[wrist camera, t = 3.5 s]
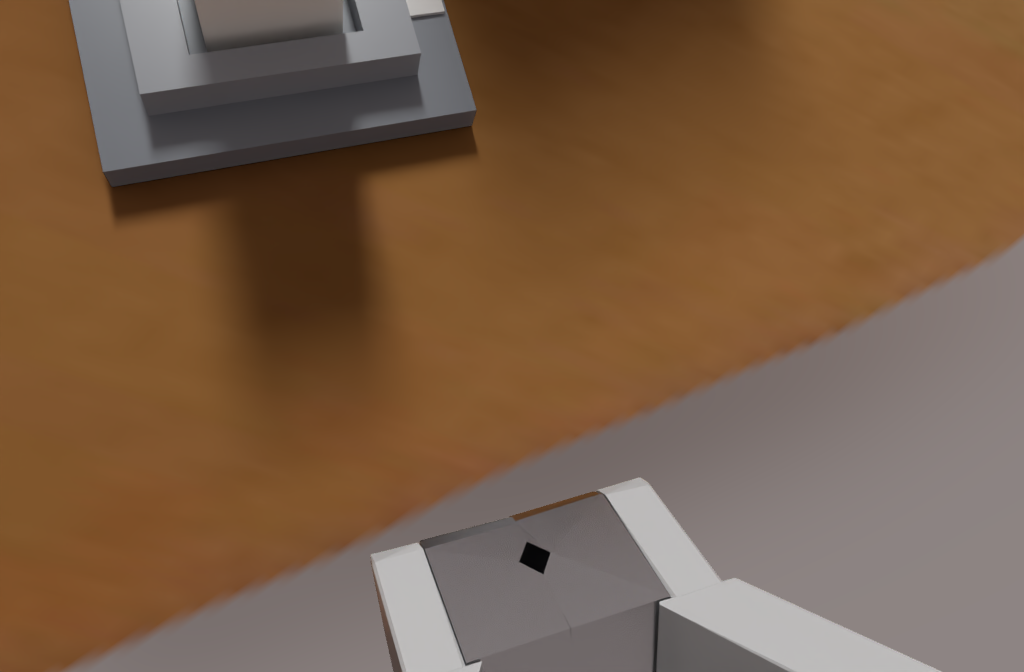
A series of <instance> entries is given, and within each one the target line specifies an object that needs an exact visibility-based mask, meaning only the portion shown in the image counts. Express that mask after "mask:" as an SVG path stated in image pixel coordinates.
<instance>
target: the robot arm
mask: <svg viewBox="0 0 1024 672" xmlns="http://www.w3.org/2000/svg"><path fill="white" fill-rule="evenodd" d="M371 567H372V571H373V577H374V582H375V587H376V591H377V597H378V602H379V607H380V612H381V616H382V622H383V627H384V631H385V636H386V640H387V645H388V649H389V654H390V659H391V663H392V667H393V671H394V672H941V671H939V670H937V669H935V668H932V667H930V666H928V665H926V664H924V663H921V662H919V661H917V660H915V659H913V658H911V657H908V656H906V655H904V654H902V653H899V652H897V651H895V650H893V649H891V648H889V647H886V646H884V645H882V644H880V643H878V642H875V641H873V640H871V639H869V638H866V637H865V636H862V635H860V634H858V633H856V632H854V631H851V630H849V629H847V628H845V627H842V626H840V625H838V624H836V623H834V622H832V621H829V620H827V619H825V618H823V617H821V616H819V615H816V614H814V613H812V612H810V611H808V610H805V609H803V608H801V607H799V606H797V605H794V604H792V603H790V602H788V601H786V600H784V599H781V598H779V597H777V596H775V595H773V594H770V593H768V592H766V591H763V590H762V589H759V588H757V587H755V586H753V585H751V584H748V583H746V582H744V581H742V580H740V579H738V578H733V579H729V580H725V581H722V580H721V579H720V578H719V576H718V575H717V574H716V572H715V571H714V570H713V568H712V567H711V566H710V564H709V563H708V562H707V561H706V559H705V558H704V556H703V555H702V554H701V552H700V551H699V550H698V548H697V547H696V546H695V544H694V543H693V542H692V540H691V539H690V537H689V536H688V535H687V533H686V532H685V531H684V529H683V528H682V527H681V525H680V524H679V523H678V521H677V520H676V519H675V518H674V516H673V515H672V514H671V512H670V511H669V509H668V508H667V507H666V506H665V504H664V503H663V501H662V500H661V499H660V497H659V496H658V495H657V493H656V492H655V491H654V489H653V488H652V487H651V485H650V484H649V483H648V482H647V481H645V480H643V479H642V478H636V479H633V480H629V481H626V482H623V483H619V484H616V485H613V486H609V487H606V488H603V489H599V490H597V491H596V492H590V493H587V494H584V495H580V496H577V497H573V498H570V499H567V500H563V501H560V502H557V503H553V504H550V505H546V506H543V507H540V508H536V509H533V510H530V511H526V512H523V513H520V514H516V515H513V516H510V517H508V518H504V519H501V520H497V521H493V522H489V523H485V524H482V525H478V526H474V527H471V528H466V529H462V530H459V531H455V532H451V533H447V534H443V535H440V536H436V537H432V538H428V539H425V540H421V541H420V544H419V543H414V544H410V545H407V546H402V547H399V548H395V549H390V550H386V551H383V552H379V553H375V554H371Z"/></svg>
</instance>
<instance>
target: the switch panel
mask: <svg viewBox="0 0 1024 672" xmlns="http://www.w3.org/2000/svg"><path fill="white" fill-rule="evenodd" d="M69 4H70V9H71V14H72V19H73V24H74V29H75V34H76V39H77V44H78V49H79V54H80V59H81V64H82V69H83V74H84V79H85V84H86V89H87V94H88V99H89V104H90V109H91V114H92V119H93V124H94V129H95V134H96V139H97V144H98V149H99V154H100V159H101V164H102V169H103V173H104V174H105V176H106V178H107V179H108V181H109V183H110V185H111V186H112V187H115V186H121V185H127V184H132V183H138V182H144V181H150V180H156V179H162V178H168V177H174V176H179V175H185V174H191V173H197V172H203V171H209V170H215V169H220V168H226V167H232V166H238V165H244V164H250V163H256V162H261V161H267V160H273V159H279V158H285V157H291V156H297V155H302V154H308V153H314V152H320V151H326V150H332V149H338V148H344V147H349V146H355V145H361V144H367V143H373V142H379V141H385V140H390V139H396V138H402V137H408V136H414V135H420V134H426V133H431V132H437V131H443V130H449V129H455V128H461V127H467V126H472V123H473V120H474V117H475V113H476V107H475V103H474V100H473V97H472V93H471V90H470V87H469V83H468V80H467V77H466V73H465V70H464V67H463V64H462V60H461V57H460V54H459V50H458V47H457V44H456V40H455V37H454V34H453V30H452V27H451V24H450V20H449V17H448V14H447V10H446V7H445V4H444V0H343V34H336V35H329V36H321V37H314V38H307V39H300V40H292V41H285V42H278V43H271V44H263V45H256V46H249V47H242V48H234V49H227V50H220V51H212V52H207V49H206V45H205V41H204V37H203V33H202V29H201V25H200V21H199V17H198V13H197V9H196V5H195V1H194V0H69Z"/></svg>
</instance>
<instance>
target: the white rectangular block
mask: <svg viewBox="0 0 1024 672" xmlns="http://www.w3.org/2000/svg"><path fill="white" fill-rule="evenodd" d="M194 1H195V5H196V9H197V13H198V17H199V21H200V25H201V29H202V33H203V37H204V41H205V45H206V49H207V52H212V51H220V50H227V49H234V48H242V47H249V46H256V45H263V44H271V43H278V42H285V41H292V40H300V39H307V38H314V37H321V36H329V35H336V34H343V0H194Z"/></svg>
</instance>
